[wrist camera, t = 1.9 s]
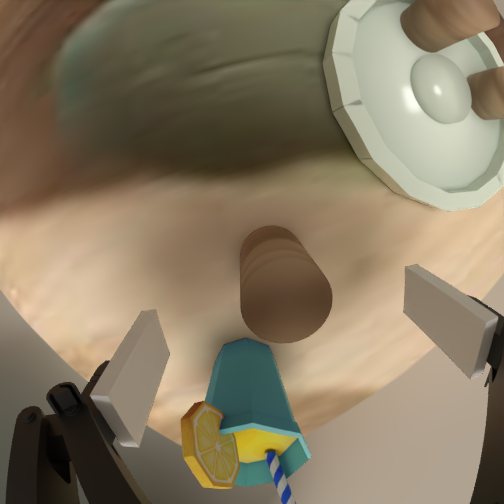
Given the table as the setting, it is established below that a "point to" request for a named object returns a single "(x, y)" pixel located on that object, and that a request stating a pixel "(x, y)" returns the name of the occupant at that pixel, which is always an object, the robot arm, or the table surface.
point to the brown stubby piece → (281, 287)
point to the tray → (413, 107)
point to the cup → (244, 424)
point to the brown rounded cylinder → (447, 21)
